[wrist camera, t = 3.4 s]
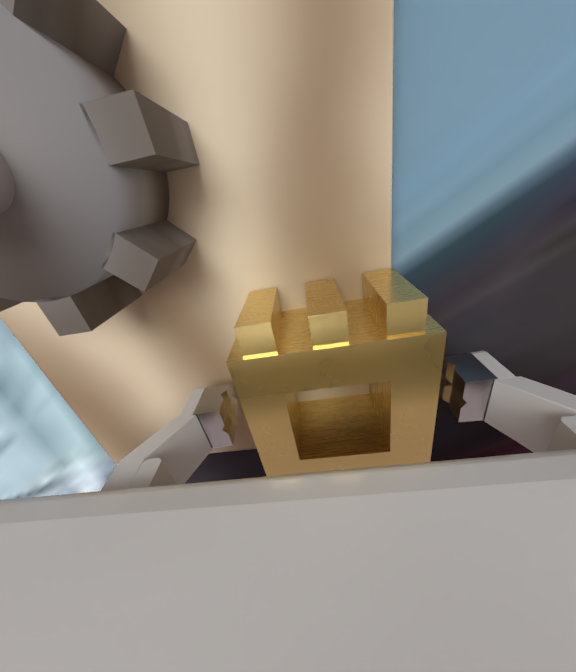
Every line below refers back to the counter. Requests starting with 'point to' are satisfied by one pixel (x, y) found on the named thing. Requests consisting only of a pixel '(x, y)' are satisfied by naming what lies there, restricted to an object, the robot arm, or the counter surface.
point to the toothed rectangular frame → (339, 375)
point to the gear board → (183, 186)
